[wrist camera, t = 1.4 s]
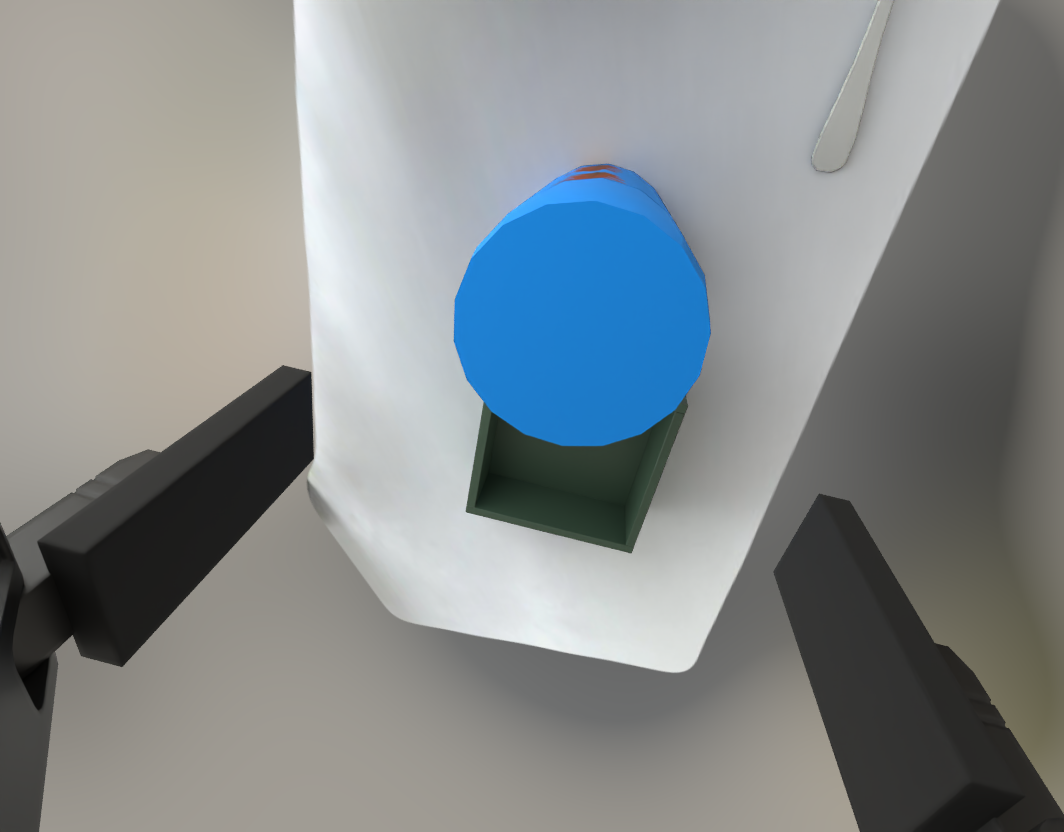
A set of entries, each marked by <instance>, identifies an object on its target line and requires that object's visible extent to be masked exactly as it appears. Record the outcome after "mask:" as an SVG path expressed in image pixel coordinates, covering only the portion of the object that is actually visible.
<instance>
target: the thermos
mask: <svg viewBox="0 0 1064 832" xmlns="http://www.w3.org/2000/svg"><path fill="white" fill-rule="evenodd" d="M710 334H711V329H710V316H709V308H708V299H707V291H706V282H705V275H704V273H703V271H702V269H701V268H700V266H699V264H698V262H697V260H696V258H695V257H694V255H693V253H692V251H691V249H690V247H689V246H688V244H687V242H686V240H685V238H684V236H683V235H682V233H681V231H680V230H679V228H678V226H677V225H676V223H675V222H674V220H673V218H672V217H671V215H670V213H669V212H668V210H667V209H666V207H665V205H664V204H663V202H662V200H661V199H660V197H659V195H658V194H657V192H656V191H655V189H654V188H653V187H652V186H650V185H649V184H648V183H647V182H646V181H644V180H643V179H642V178H641V177H640V176H638V175H637V174H636V173H635V172H633V171H630V170H627V169H623V168H620V167H617V166H614V165H611V164H600V165H588V166H580V167H578V168H576V169H574V170H572V171H570V172H568V173H566V174H564V175H562V176H560V177H558V178H556V179H555V180H554V181H552V182H551V183H550V184H548V185H547V186H545V187H544V188H543V189H541V190H540V191H539V192H537V193H536V194H534V195H533V196H532V197H530V198H529V199H528V200H526V201H525V202H524V203H522V204H521V205H519V206H518V207H517V208H515V209H514V210H513V211H511V212H510V213H508V214H507V215H506V216H505V218H504V219H503V220H502V221H501V222H500V223H499V224H498V225H497V226H496V227H495V228H494V229H493V230H492V231H491V233H490V234H489V235H488V236H487V237H486V238H485V239H484V240H483V241H482V242H481V243H480V244H479V245H478V247H477V248H476V250H475V252H474V254H473V256H472V258H471V260H470V263H469V265H468V268H467V270H466V273H465V275H464V278H463V280H462V283H461V285H460V288H459V290H458V293H457V295H456V298H455V313H454V343H455V346H456V349H457V352H458V355H459V358H460V361H461V364H462V367H463V370H464V372H465V375H466V378H467V380H468V382H469V383H470V384H471V386H472V387H473V388H474V390H475V391H476V392H477V393H478V395H479V396H480V397H481V399H482V400H483V401H484V403H485V404H486V405H487V406H488V408H489V409H490V410H491V412H493V413H494V414H496V415H497V416H499V417H500V418H502V419H503V420H504V421H506V422H507V423H509V424H510V425H512V426H513V427H515V428H516V429H518V430H519V431H520V432H522V433H523V434H526V435H529V436H532V437H535V438H538V439H542V440H545V441H548V442H551V443H555V444H558V445H561V446H604V445H607V444H611V443H614V442H617V441H620V440H623V439H627V438H630V437H633V436H636V435H640V434H642V433H643V432H645V431H646V430H648V429H649V428H650V427H652V426H653V425H655V424H656V423H657V422H659V421H660V420H662V419H663V418H665V417H666V416H667V415H669V414H670V413H672V412H673V411H674V410H675V409H676V408H677V407H678V405H679V404H680V402H681V401H682V400H683V398H684V397H685V395H686V394H687V393H688V391H689V390H690V388H691V387H692V386H693V384H694V383H695V381H696V380H697V378H698V377H699V376H700V372H701V368H702V365H703V361H704V357H705V353H706V350H707V346H708V342H709V338H710Z"/></svg>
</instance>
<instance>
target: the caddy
mask: <svg viewBox="0 0 1064 832" xmlns="http://www.w3.org/2000/svg"><path fill="white" fill-rule="evenodd" d="M687 407H688V404H687V400H686V396H685V397H684V398H683V400H682V401H681V402H680V404H679V405H678V407H677V408H676V409H675V410H674V411H673V412H672V413H670V414H669V415H667V416H666V417H665V418H663V419H662V420H660V421H659V422H657V423H656V424H655V425H653V426H652V427H650V428H649V429H648V430H646V431H645V432H643V433H642V434H640V435H636V436H633V437H630V438H627V439H623V440H620V441H617V442H614V443H611V444H607V445H604V446H561V445H558V444H555V443H551V442H548V441H545V440H542V439H538V438H535V437H532V436H529V435H526V434H523V433H522V432H520V431H519V430H518V429H516V428H515V427H513V426H512V425H510V424H509V423H507V422H506V421H504V420H503V419H502V418H500V417H499V416H497V415H496V414H494V413H493V412H491V410H490V409H489V408H488V406H487V405H486V404H485V403H484V404H483V410H482V416H481V422H480V428H479V434H478V440H477V446H476V452H475V458H474V464H473V470H472V477H471V483H470V489H469V495H468V501H467V507H466V512H467V513H471V514H475V515H479V516H483V517H487V518H491V519H495V520H499V521H503V522H507V523H511V524H515V525H519V526H523V527H527V528H531V529H535V530H539V531H543V532H547V533H552V534H556V535H560V536H564V537H568V538H572V539H576V540H580V541H584V542H588V543H592V544H596V545H600V546H604V547H608V548H612V549H616V550H620V551H624V552H628V553H632V551H633V548H634V545H635V543H636V540H637V537H638V535H639V532H640V530H641V527H642V524H643V522H644V519H645V517H646V514H647V511H648V509H649V506H650V503H651V501H652V498H653V496H654V493H655V490H656V488H657V485H658V483H659V480H660V477H661V475H662V472H663V469H664V467H665V464H666V462H667V459H668V456H669V454H670V451H671V449H672V446H673V443H674V441H675V438H676V435H677V433H678V430H679V428H680V425H681V422H682V420H683V417H684V414H685V412H686V410H687Z"/></svg>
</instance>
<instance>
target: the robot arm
mask: <svg viewBox="0 0 1064 832" xmlns="http://www.w3.org/2000/svg"><path fill="white" fill-rule="evenodd" d="M313 459H314V452H313V416H312V380H311V372H309V371H304V370H300V369H296V368H292V367H288V366H284V365H283V366H282V367H280V368H278V369H277V370H276V371H274V372H273V373H271V374H270V375H269V376H267V377H266V378H264V379H263V380H262V381H260V382H259V383H258V384H256V385H255V386H253V387H252V388H251V389H249V390H248V391H246V392H245V393H243V394H242V395H241V396H239V397H238V398H236V399H235V400H234V401H232V402H231V403H229V404H228V405H227V406H225V407H224V408H223V409H221V410H220V411H218V412H217V413H216V414H214V415H213V416H211V417H210V418H208V419H207V420H206V421H204V422H203V423H201V424H200V425H199V426H197V427H196V428H195V429H193V430H192V431H190V432H189V433H187V434H186V435H185V436H183V437H182V438H181V439H179V440H178V441H176V442H175V443H173V444H172V445H171V446H169V447H168V448H167V449H165V450H164V451H162V452H161V453H160V452H156V451H152V450H145V451H143V452H140V453H138V454H135V455H132V456H130V457H127V458H125V459H122V460H119V461H118V462H116V463H115V464H113V465H112V466H110V467H109V468H107V469H106V470H104V471H103V472H101V473H100V474H99V475H97V476H96V478H95V479H94V480H89V481H88V482H86V483H85V484H83V485H82V486H80V487H79V488H77V489H76V492H75V493H70V494H68V495H67V496H66V497H64V498H62V499H61V500H60V501H58V502H56V503H55V504H54V505H52V506H51V507H49V508H48V509H46V510H45V511H43V512H42V513H40V514H39V515H37V516H36V517H34V518H33V519H32V520H30V521H29V522H27V523H25V524H24V525H22V526H21V527H19V528H18V529H16V530H15V531H13V532H12V533H10V534H9V535H7V536H6V535H5V533H4V530H3V528H2V526H1V523H0V832H39V827H40V818H41V809H42V801H43V800H42V799H43V792H44V783H45V774H46V766H47V757H48V748H49V739H50V730H51V721H52V713H53V704H54V696H55V687H56V678H57V669H58V662H57V657H56V653H55V651H56V650H57V649H58V648H59V647H60V646H61V645H62V644H63V643H64V642H65V641H66V640H67V639H68V638H69V637H71V636H72V635H73V637H74V639H75V642H76V644H77V647H78V649H79V652H80V654H81V656H83V657H86V658H90V659H94V660H98V661H101V662H105V663H109V664H113V665H116V666H120V667H123V665H125V663H126V662H127V661H128V660H129V659H130V658H131V657H132V656H133V655H134V654H135V653H136V651H137V650H138V649H139V648H140V647H141V646H142V645H143V644H144V643H145V642H146V640H148V638H149V637H150V636H151V635H152V634H153V633H154V632H155V631H156V630H157V629H158V628H159V626H160V625H161V624H162V623H163V622H164V621H165V620H166V619H167V618H168V617H169V615H171V613H172V612H173V611H174V610H175V609H176V608H177V607H178V606H179V604H181V603H182V602H183V600H184V599H185V598H186V597H187V596H188V595H189V594H190V593H191V592H192V591H193V590H194V588H195V587H196V586H197V585H198V584H199V583H200V582H201V581H202V580H203V579H204V578H205V576H206V575H207V574H208V573H209V572H210V571H211V570H212V569H213V568H214V567H215V566H216V565H217V563H218V562H219V561H220V560H221V559H222V558H223V557H224V556H225V555H226V554H227V553H228V551H229V550H230V549H231V548H232V547H233V546H234V545H235V544H236V543H237V542H238V541H239V539H240V538H241V537H242V536H243V535H244V534H245V533H246V532H247V531H248V530H249V529H250V528H251V526H252V525H253V524H254V523H255V522H256V521H257V520H258V519H259V518H260V517H261V515H262V514H263V513H264V512H265V511H266V510H267V509H268V508H269V507H270V506H271V505H272V503H274V501H275V500H276V499H277V498H278V497H279V496H280V495H281V494H282V493H283V492H284V490H285V489H286V488H287V487H288V486H289V485H290V484H291V483H292V482H293V480H295V479H296V477H297V476H298V475H299V474H300V473H301V472H302V471H303V470H304V469H305V467H307V465H308V464H309V463H310V462H311V461H312V460H313ZM774 575H775V578H776V581H777V584H778V587H779V590H780V593H781V596H782V599H783V602H784V605H785V608H786V611H787V614H788V617H789V620H790V623H791V626H792V629H793V632H794V635H795V638H796V641H797V644H798V647H799V650H800V653H801V656H802V659H803V662H804V665H805V668H806V671H807V674H808V677H809V680H810V683H811V686H812V689H813V692H814V695H815V698H816V701H817V704H818V707H819V710H820V713H821V716H822V719H823V722H824V725H825V728H826V731H827V734H828V737H829V740H830V743H831V746H832V749H833V752H834V755H835V758H836V761H837V764H838V767H839V770H840V773H841V776H842V779H843V782H844V785H845V788H846V791H847V794H848V797H849V800H850V803H851V806H852V809H853V812H854V815H855V818H856V821H857V824H858V827H859V830H860V832H1064V814H1063V813H1062V811H1061V809H1060V807H1059V806H1058V805H1057V803H1056V801H1055V800H1054V798H1053V797H1052V795H1051V793H1050V792H1049V790H1048V789H1047V787H1046V785H1045V784H1044V782H1043V781H1042V779H1041V778H1040V776H1039V774H1038V773H1037V771H1036V770H1035V768H1034V767H1033V765H1032V764H1031V762H1030V760H1029V759H1028V757H1027V756H1026V754H1025V752H1024V751H1023V749H1022V748H1021V746H1020V745H1019V743H1018V741H1017V740H1016V738H1015V737H1014V735H1013V734H1012V732H1011V730H1010V729H1009V728H1006V727H1005V721H1004V719H1003V718H1002V716H1001V715H1000V713H999V712H998V710H997V709H996V707H995V705H991V703H990V701H991V699H990V698H989V696H988V694H987V693H986V691H985V690H984V688H983V687H982V685H981V683H980V682H979V680H978V679H977V677H976V675H975V674H974V672H973V671H972V670H971V669H970V668H969V667H968V666H967V665H966V664H965V663H964V662H963V661H962V660H961V659H960V658H959V657H958V656H957V655H956V654H955V653H954V652H953V651H952V650H951V649H950V648H949V647H948V646H943V645H940V644H936V643H934V641H933V640H932V638H931V636H930V635H929V633H928V631H927V630H926V628H925V626H924V625H923V623H922V621H921V620H920V618H919V616H918V615H917V613H916V611H915V609H914V608H913V606H912V604H911V603H910V601H909V599H908V598H907V596H906V594H905V593H904V591H903V589H902V588H901V586H900V584H899V583H898V581H897V579H896V578H895V576H894V574H893V573H892V571H891V569H890V568H889V566H888V564H887V563H886V561H885V559H884V558H883V556H882V554H881V553H880V551H879V549H878V548H877V546H876V544H875V542H874V541H873V539H872V538H871V536H870V534H869V532H868V531H867V529H866V527H865V526H864V524H863V522H862V521H861V519H860V518H859V516H858V514H857V512H856V511H855V509H854V507H853V506H852V504H851V502H850V501H847V500H843V499H839V498H835V497H831V496H826V495H822V494H819V495H818V496H817V498H816V500H815V501H814V504H813V505H812V507H811V508H810V510H809V512H808V513H807V515H806V517H805V519H804V520H803V522H802V524H801V525H800V527H799V529H798V531H797V532H796V534H795V536H794V537H793V539H792V541H791V543H790V545H789V546H788V548H787V549H786V552H785V553H784V555H783V556H782V558H781V560H780V561H779V563H778V565H777V567H776V568H775V570H774Z"/></svg>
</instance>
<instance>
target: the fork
mask: <svg viewBox="0 0 1064 832" xmlns="http://www.w3.org/2000/svg"><path fill="white" fill-rule="evenodd" d="M893 3H894V0H878V2H877V5H876V8H875V10H874V13H873V15H872V18H871V21H870V23H869V26H868V29H867V31H866V34H865V36H864V39H863V41H862V43H861V46H860V48H859V50H858V53H857V55H856V58H855V60H854V62H853V65H852V67H851V69H850V72H849V74H848V76H847V78H846V80H845V82H844V85H843V87H842V89H841V91H840V93H839V95H838V97H837V100H836V102H835V104H834V106H833V108H832V110H831V112H830V115H829V117H828V119H827V121H826V123H825V126H824V128H823V130H822V132H821V134H820V137H819V139H818V142H817V144H816V147H815V149H814V152H813V155H812V157H811V162H812V166H813V167H814V168H815V169H816V170H818V171H825V172H833V171H835V170H837V169H840V168H841V167H842V166H843V165H844V164H845V163H846V161H847V158H848V156H849V154H850V151H851V149H852V147H853V144H854V142H855V139H856V135H857V131H858V128H859V124H860V120H861V117H862V113H863V109H864V105H865V101H866V97H867V93H868V89H869V84H870V80H871V76H872V72H873V69H874V65H875V62H876V58H877V55H878V51H879V47H880V44H881V40H882V37H883V34H884V30H885V27H886V24H887V21H888V18H889V15H890V12H891V9H892V6H893Z"/></svg>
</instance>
